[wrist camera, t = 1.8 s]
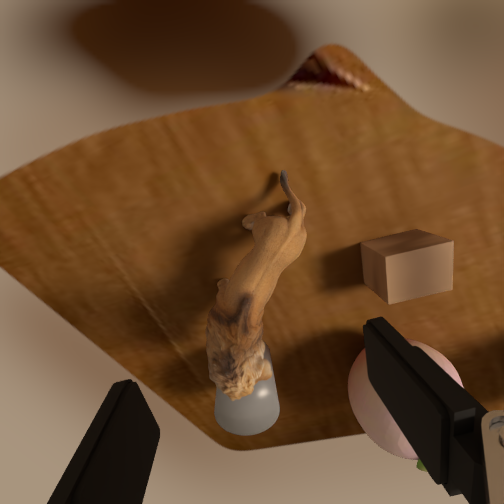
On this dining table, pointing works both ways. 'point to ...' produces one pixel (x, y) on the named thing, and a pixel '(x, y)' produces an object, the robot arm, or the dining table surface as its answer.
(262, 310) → the lion figurine
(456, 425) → the robot arm
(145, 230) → the dining table surface
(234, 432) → the light grey cylinder
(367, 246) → the pale beige block
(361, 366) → the decorative fruit
